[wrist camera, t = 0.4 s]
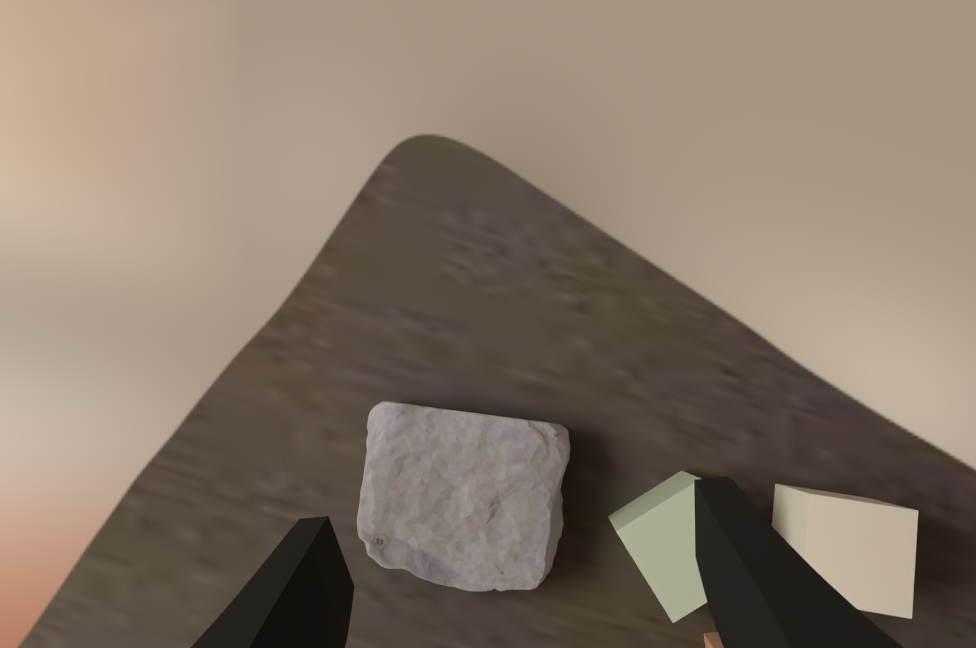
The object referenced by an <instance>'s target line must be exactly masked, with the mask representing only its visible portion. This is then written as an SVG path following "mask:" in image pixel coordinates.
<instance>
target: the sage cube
mask: <svg viewBox="0 0 976 648" xmlns="http://www.w3.org/2000/svg"><path fill="white" fill-rule="evenodd" d="M696 479H701V478H699V477H696V476H694V475H691V474H689V473H686V472H684V471H680V472H679V473H677V474H675V475H674V476H672V477H671V478H669V479H667V480H666V481H664V482H662V483H661V484H659V485H658V486H656V487H654V488H653V489H651V490H650V491H648V492H646V493H645V494H643V495H642V496H640V497H638V498H637V499H635V500H633V501H632V502H630V503H629V504H627V505H625V506H624V507H622V508H621V509H619V510H617V511H616V512H614V513H613V514H611V515H609V516H608V518H609V520H610V521H611V523H612V525H613V527H614V529H615V531H616V532H617V534H618V535H619V537H620V539H621V540H622V542H623V543H624V545H625V547H626V548H627V550H628V552H629V553H630V555H631V556H632V558H633V560H634V561H635V563H636V564H637V566H638V568H639V569H640V571H641V572H642V574H643V576H644V577H645V579H646V580H647V582H648V584H649V585H650V587H651V588H652V590H653V592H654V593H655V595H656V597H657V598H658V600H659V601H660V603H661V605H662V606H663V608H664V609H665V611H666V613H667V614H668V616H669V617H670V619H671V621H672V622H673V623H674V622H676V621H677V620H679V619H681V618H682V617H684V616H686V615H687V614H689V613H690V612H692V611H694V610H695V609H697V608H698V607H700V606H702V605H703V604H705V603H707V599H706V595H705V592H704V588H703V584H702V580H701V577H700V573H699V569H698V565H697V561H696V557H695V496H694V480H696Z"/></svg>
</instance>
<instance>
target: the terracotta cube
mask: <svg viewBox="0 0 976 648" xmlns="http://www.w3.org/2000/svg"><path fill="white" fill-rule="evenodd" d="M704 639H705V646H706V648H724V647H723V644H722V642H721V639H720V637H719V634H718V632H711V633H704Z"/></svg>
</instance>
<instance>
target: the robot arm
mask: <svg viewBox="0 0 976 648" xmlns="http://www.w3.org/2000/svg"><path fill="white" fill-rule="evenodd" d="M694 496H695V557H696V561H697V565H698V569H699V573H700V577H701V580H702V584H703V588H704V592H705V595H706V599H707V603H708V607H709V610H710V613H711V615H712V618H713V621H714V623H715V626H716V629H717V631H718V634H719V637H720V639H721V642H722V644H723V647H724V648H903V647H902V646H901V645H900V644H898V643H897V642H896V641H895V640H893V639H892V638H891V637H890V636H888V635H887V634H886V633H885V632H883V631H882V630H881V629H880V628H879V627H877V626H876V625H875V624H874V623H873V622H871V621H870V620H869V619H868V618H867V617H866V616H864V615H863V614H862V613H861V612H860V611H859V610H858V609H856V608H855V607H854V606H853V605H852V604H851V603H850V602H849V601H848V600H846V599H845V598H844V597H843V596H842V595H841V594H840V593H839V592H838V591H837V590H836V589H834V588H833V587H832V586H831V585H830V584H829V583H828V582H827V581H826V580H825V579H824V578H823V577H822V576H821V575H820V574H819V573H817V572H816V571H815V570H814V569H813V568H812V567H811V566H810V565H809V564H808V563H807V562H806V561H805V560H804V559H803V558H802V557H801V556H800V555H799V554H798V553H797V552H796V550H795V549H794V548H793V547H792V546H791V545H790V544H789V543H788V542H787V541H786V540H785V539H784V538H783V537H782V536H781V535H780V534H779V533H778V532H777V531H776V530H775V529H774V527H773V526H772V525H771V524H770V523H769V522H768V521H767V520H766V519H765V518H764V516H763V515H762V514H761V513H760V512H759V511H758V510H757V509H756V507H755V506H754V505H753V504H752V503H751V502H750V500H749V499H748V498H747V497H746V496H745V495H744V493H743V492H742V491H741V490H740V489H739V487H738V486H737V485H736V484H735V482H734V481H733V480H731V479H730V478H729V477H727V476H726V477H716V478H706V479H696V480H694ZM353 594H354V584H353V582H352V579H351V576H350V573H349V571H348V568H347V565H346V563H345V560H344V557H343V554H342V552H341V549H340V546H339V544H338V541H337V538H336V535H335V533H334V530H333V527H332V525H331V522H330V519H329V516H325V517H315V518H305V519H299V520H298V521H297V523H296V524H295V525H294V526H293V527H292V529H291V530H290V531H289V532H288V534H287V535H286V536H285V537H284V538H283V540H282V541H281V542H280V543H279V545H278V546H277V547H276V548H275V550H274V551H273V552H272V553H271V555H270V556H269V557H268V558H267V559H266V561H265V562H264V563H263V564H262V566H261V567H260V568H259V569H258V571H257V572H256V573H255V574H254V576H253V577H252V578H251V579H250V580H249V582H248V583H247V584H246V585H245V586H244V588H243V589H242V590H241V591H240V592H239V594H238V595H237V596H236V597H235V598H234V600H233V601H232V602H231V603H230V604H229V606H228V607H227V608H226V609H225V610H224V611H223V613H222V614H221V615H220V616H219V617H218V618H217V619H216V620H215V621H214V623H213V624H212V625H211V626H210V627H209V628H208V629H207V630H206V631H205V633H204V634H203V635H202V636H201V637H200V638H199V639H198V640H197V641H196V643H195V644H194V645H193V646H192V647H191V648H345V644H346V640H347V635H348V629H349V622H350V616H351V609H352V601H353Z"/></svg>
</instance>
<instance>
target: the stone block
mask: <svg viewBox="0 0 976 648" xmlns="http://www.w3.org/2000/svg"><path fill="white" fill-rule="evenodd" d="M367 429H368V436H367V441H366V442H367V455H366V462H365V469H364V476H363V483H362V488H361V493H360V505H359V511H358V516H357V528H358V535H359V538H360V539H361V540H363V541H364V542H365V546H366V549H367V553H368V555H369V556H370V557H372V558H373V559H374V560H375V561H376V562H377V563H378V564H379V565H380V566H382V567H385V568H387V569H398V568H400V569H405V570H407V571H410V572H411V573H412V574H414V575H415V576H417V577H419V578H422V579H425V580H428V581H431V582H433V583H436V584H440V585H445V586H449V587H451V586H453V587H456V588H459V589H463V590H467V591H478V592H480V591H490V590H493V589H496V590H499V591H504V590H511V589H514V590H532V589H534V588H536V587H537V586H538V585H539V584H540V583H542V582H543V581H544V579H545V577H546V575H547V574H548V573H549V572H550V570H551V567H552V565H553V559H554V556H555V554H556V550H557V544H558V541H559V539H560V537H561V535H562V528H563V525H564V522H563V512H562V503H563V498H562V494H561V490H560V489H561V485H562V480H563V476H564V473H565V471H566V466H567V464H568V462H569V457H570V442H569V432H568V429H566V428H565V427H564V426H562V425H560V424H555V423H548V422H541V421H533V420H524V419H516V418H509V417H502V416H494V415H486V414H478V413H471V412H463V411H455V410H448V409H441V408H433V407H426V406H419V405H412V404H406V403H399V402H392V401H387V402H381V403H379V404H378V405H376V406H375V407H373V408H372V410H371V411H370V413H369V417H368V423H367Z"/></svg>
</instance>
